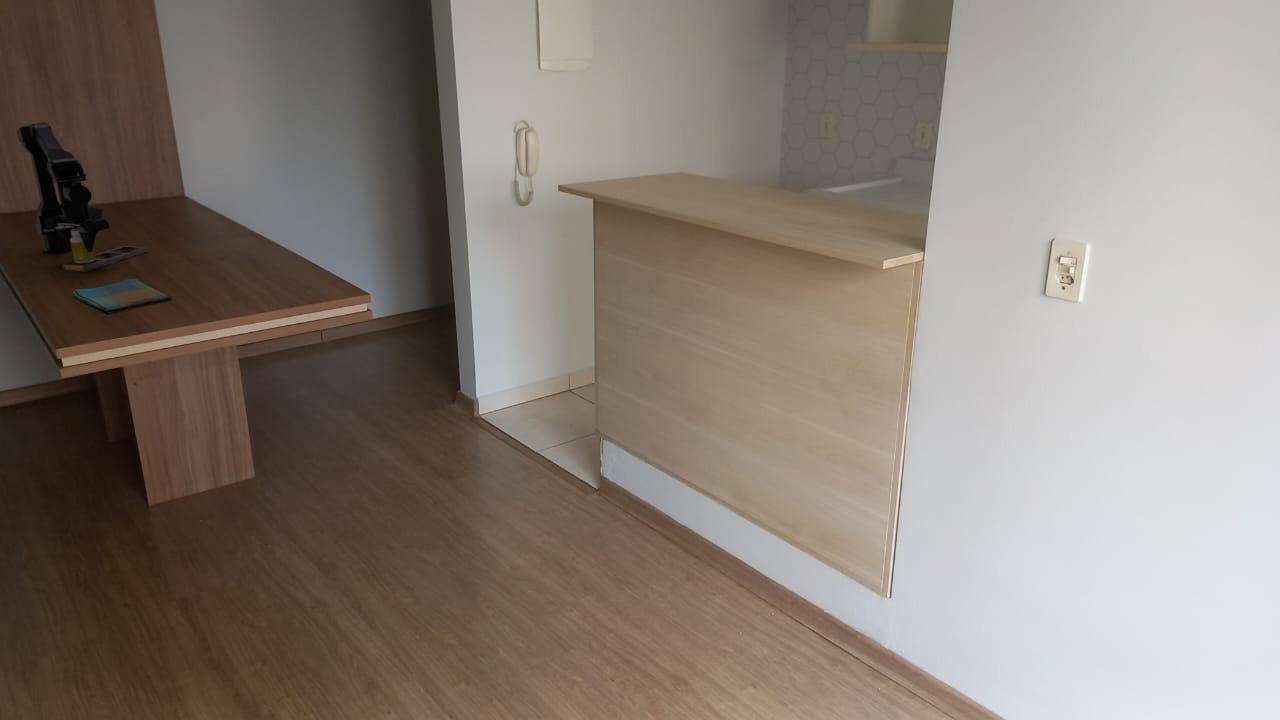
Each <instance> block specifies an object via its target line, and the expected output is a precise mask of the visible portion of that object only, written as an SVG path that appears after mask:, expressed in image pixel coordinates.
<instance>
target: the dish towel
mask: <svg viewBox="0 0 1280 720" xmlns="http://www.w3.org/2000/svg"><path fill="white" fill-rule="evenodd" d="M72 298H74V299H76V300H78V301H80V300H81V302H83V303H86V304H88V305H90V306H91V307H94V306H95V307H94V308H96V307H97V308H96V309H98V308H99V309H100V310H99V309H98V310H99V311H101V310H103V311H102V312H104V311H105V312H107V313H111V314H115V313H114V312H116V313H119V311H120V312H124V311H123V310H125V311H128V310H127V309H129V310H133V309H132V308H134V309H137V308H136V307H138V308H141V307H140V306H143V307H147V306H151V305H150V304H152V305H155V304H161V303H164V302H168V301H169V300H170V301H172V300H173V298H172V297H171V296H169V295H167V294H165V293H163V292H161V291H160V290H158V289H156V288H153V287H151V286H149V285H147V284H145V283H143V282H142V281H140V280H138V279H137V278H128V279H125V280H121V281H119V282H114V283H110V284H105V285H101V286H98V287H94V288H83V289H82V288H81V289H75V290H74V291H72ZM146 305H147V306H146ZM105 312H104V313H105ZM107 313H106V314H107Z"/></svg>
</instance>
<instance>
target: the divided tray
mask: <svg viewBox="0 0 1280 720" xmlns="http://www.w3.org/2000/svg"><path fill="white" fill-rule="evenodd" d="M124 250H131V251H132V252H130V251H127V252H122V253H118V252H121V251H124ZM144 252H147V253H148V252H149V251H148V248H147V247H143V246H131V245H124V246H119V247H116V248H114V249H109V250H105V251H103V252H100V253H96V254H94V256H95V260H94V261H93V262H89V263H76V262H75V260H72V261H69V262H66V263H64V264H62V265H61V266H62V269H63V270H67V271H74V270H75V271H77V272H85V273H86V272H89V271H90V272H91V271H93V270H96V269H99V268H98V267H100V268H102V267H101V266H103V267H105V266H104V265H106V264H108V263H112V262H115V261H118V260H121V259H124V258H127V257H130V256H134V255H137V254H140V253H144ZM144 254H145V253H144ZM106 256H112V257H108V258H107V257H106ZM137 256H138V255H137ZM103 257H105V258H103ZM134 257H135V256H134ZM101 258H102V259H101ZM118 262H119V261H118ZM115 263H116V262H115ZM112 264H113V263H112ZM106 266H107V265H106ZM95 268H96V269H95ZM92 269H93V270H92ZM75 271H74V272H75Z"/></svg>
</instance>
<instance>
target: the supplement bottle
mask: <svg viewBox="0 0 1280 720" xmlns="http://www.w3.org/2000/svg"><path fill="white" fill-rule="evenodd" d="M81 231H84V229H83V227H80V228H79V227H78V228H76V229H73V230H71V235H72V236H73V237H71V238H70V243H71V247H72V250H71V251H72V257H73V261H75V262H76V263H89V262H93V261H94V260H95V256H94V255H95V252H94V250H93V252H91V253H89V252H88V250H87V249H86V247H85V244H84V242H83V240H82V238H81V236H80V234H79V232H81Z"/></svg>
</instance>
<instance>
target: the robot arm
mask: <svg viewBox="0 0 1280 720" xmlns="http://www.w3.org/2000/svg"><path fill="white" fill-rule="evenodd" d="M16 136H17V139H18V142H19V143H20V144H21V147H23V149H24V151H26V152H27V153H28V154H29V156H30V160H31V164H32V168H33V169H32V170H33V173H34V177H35V181H36V186H37V191H38V196H39V200H40V202H39V204H38V206H37V208H36V213H37V216H36V217H35V219H36V220H35V228H36V231H37V234H39V235H41V236H43V239H44V243H45V247H46V249H44V250H42V253H48V254H61V253H65V252H69V251H72V247H71V243H70V238H71V237H73V236H72V235H71V230H73V229H78V228H79V227H80V228H83V229H84V231H81V232H79V234H80V236H81V238H82V240H83V242H84V244H85V247H86V249H87V250H88V252H89V253H91V252H93V251H94V245H95V241H96V240H95V239H96V237H97V234H98V232H100V231H104V230H107V229H110V227H111V226H110V223H109V221H108V220H107V219H106V218H103V214H104V213H103V211H104V210H103V209H101V208H99V207H98V208H97V207H92V206H89V203H90V202H91V200H92V192H91V190H90V189H89V188H88V187H87V186H84V185H83V184H82V182H85V181H87V173H86V171H85V170H84V168H83V166H82V164H81V163H80V161H79V160H78V159H76V157H75V156H74V155H73V154H72V153H71V152H70V151H66V150H64V149H63V147H62V145H61V143H60V142H59V141H58V139H57V138H56V136H55V135H54V133H53V129H52V126H51V125H50V123H47V122H37V123H36V122H35V123H31V124H29V125H23V126H20V127H19V128H18V129H17V130H16ZM55 184H56V187H55ZM56 188H57V193H58V197H59V200H58V197H57V193H56ZM59 201H60V202H59Z"/></svg>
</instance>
